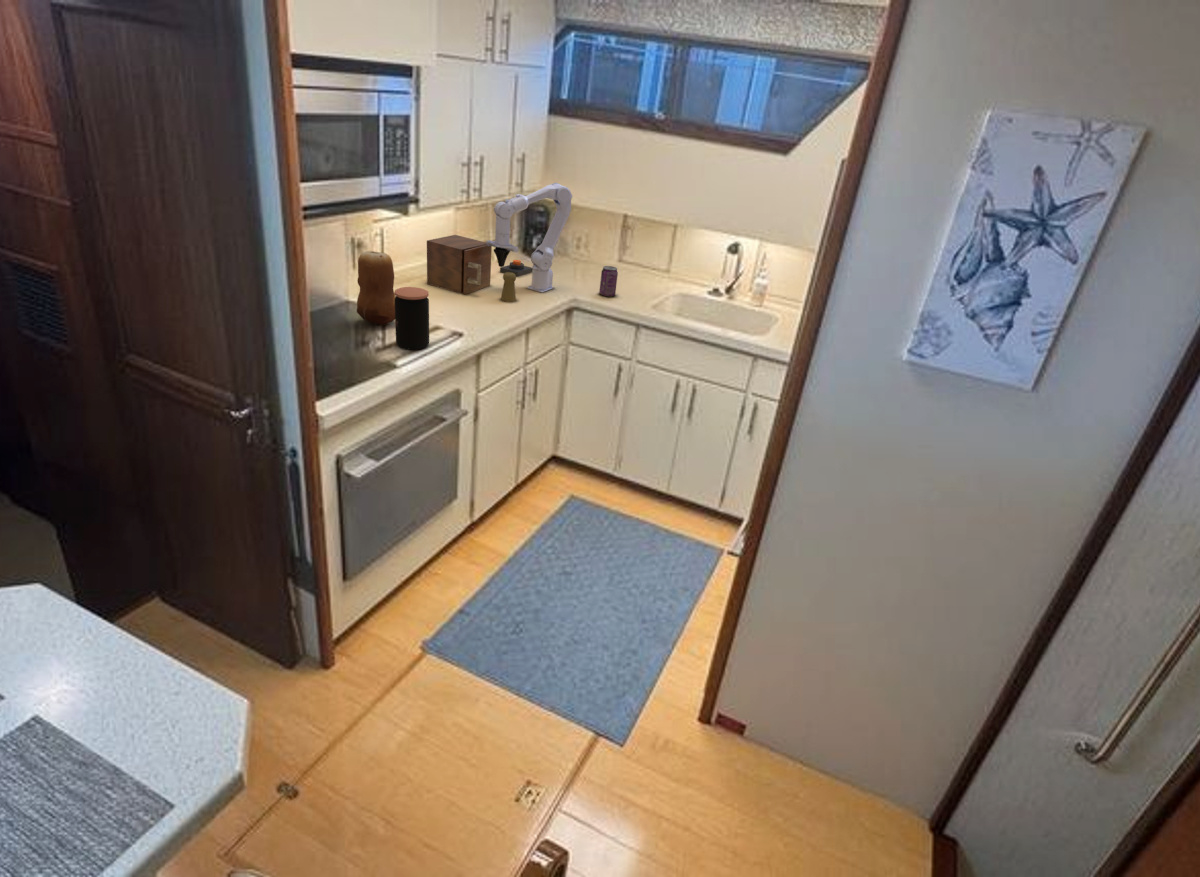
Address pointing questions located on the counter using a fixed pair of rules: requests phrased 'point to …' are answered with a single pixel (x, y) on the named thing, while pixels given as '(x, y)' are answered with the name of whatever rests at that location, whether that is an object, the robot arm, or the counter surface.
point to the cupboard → (448, 261)
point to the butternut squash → (376, 288)
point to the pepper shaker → (509, 287)
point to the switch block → (516, 269)
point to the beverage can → (608, 281)
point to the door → (477, 268)
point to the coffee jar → (412, 318)
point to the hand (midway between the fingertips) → (501, 266)
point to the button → (516, 262)
